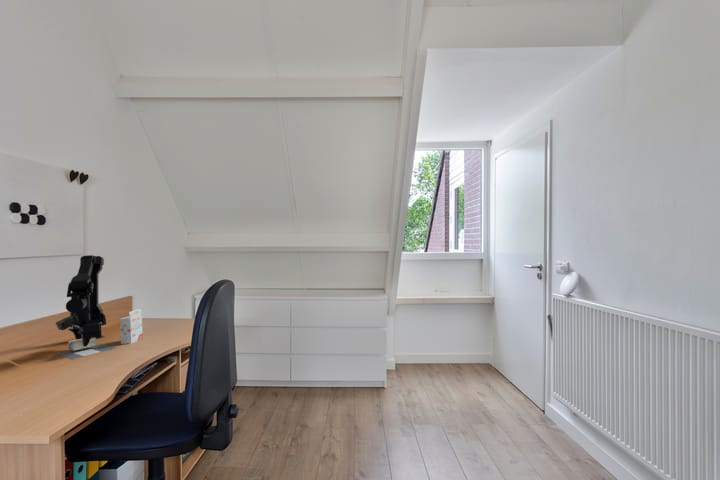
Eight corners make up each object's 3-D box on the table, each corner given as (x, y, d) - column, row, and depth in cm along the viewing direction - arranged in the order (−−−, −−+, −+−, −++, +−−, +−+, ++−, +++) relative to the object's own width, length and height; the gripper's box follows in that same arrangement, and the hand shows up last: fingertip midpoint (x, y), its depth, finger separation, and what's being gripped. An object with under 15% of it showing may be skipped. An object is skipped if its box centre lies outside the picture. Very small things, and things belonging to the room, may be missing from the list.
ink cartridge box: (132, 339, 169) (131, 308, 169) (143, 339, 169) (142, 308, 169) (120, 345, 160) (119, 312, 160) (131, 344, 160) (130, 311, 160)
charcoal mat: (55, 355, 148) (55, 353, 148) (100, 344, 161) (100, 343, 161) (72, 360, 140) (72, 359, 140) (117, 349, 154) (117, 347, 154)
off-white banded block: (68, 348, 150) (68, 341, 150) (90, 343, 157) (90, 336, 157) (73, 350, 148) (73, 342, 148) (96, 345, 155) (95, 337, 155)
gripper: (48, 310, 150) (49, 347, 150) (68, 314, 141) (69, 354, 141) (80, 305, 160) (81, 340, 160) (100, 309, 150) (101, 346, 150)
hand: (82, 345), depth 153 cm, fingers closed on off-white banded block, 5 cm apart
